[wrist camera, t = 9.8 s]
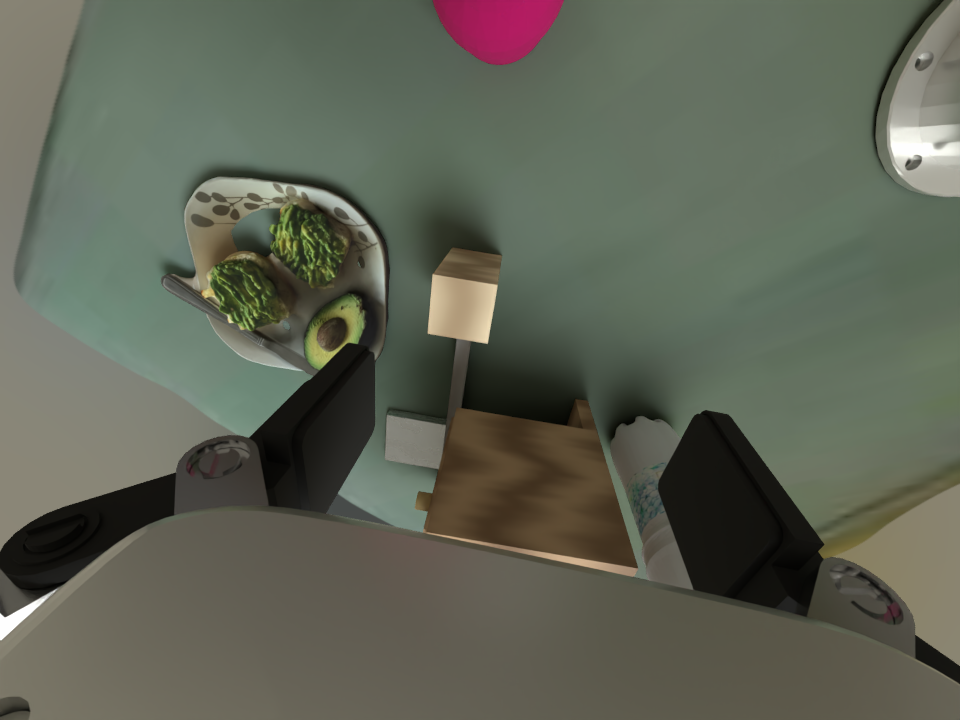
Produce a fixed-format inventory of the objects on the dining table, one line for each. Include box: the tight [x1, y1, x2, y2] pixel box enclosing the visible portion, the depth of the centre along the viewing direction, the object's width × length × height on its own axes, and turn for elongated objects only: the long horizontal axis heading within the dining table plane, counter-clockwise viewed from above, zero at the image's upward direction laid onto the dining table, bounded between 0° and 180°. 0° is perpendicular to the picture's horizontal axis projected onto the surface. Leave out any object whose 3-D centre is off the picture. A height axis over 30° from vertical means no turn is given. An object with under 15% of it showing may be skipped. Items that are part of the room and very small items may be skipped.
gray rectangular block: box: [385, 409, 447, 469], centre depth 39 cm, size 6×6×2 cm
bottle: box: [610, 416, 693, 590], centre depth 28 cm, size 7×7×20 cm
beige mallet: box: [428, 247, 502, 454], centre depth 32 cm, size 4×23×8 cm, turn 172°
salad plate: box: [161, 176, 390, 376], centre depth 31 cm, size 19×18×5 cm
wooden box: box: [415, 399, 638, 577], centre depth 31 cm, size 13×14×16 cm
